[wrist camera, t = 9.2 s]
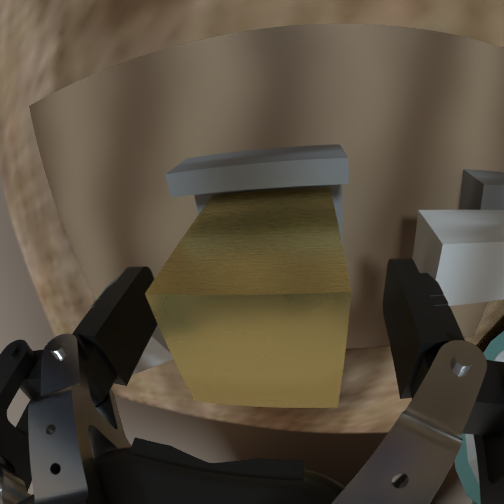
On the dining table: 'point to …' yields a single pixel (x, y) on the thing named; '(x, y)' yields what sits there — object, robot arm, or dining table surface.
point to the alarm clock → (466, 458)
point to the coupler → (258, 300)
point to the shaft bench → (292, 154)
